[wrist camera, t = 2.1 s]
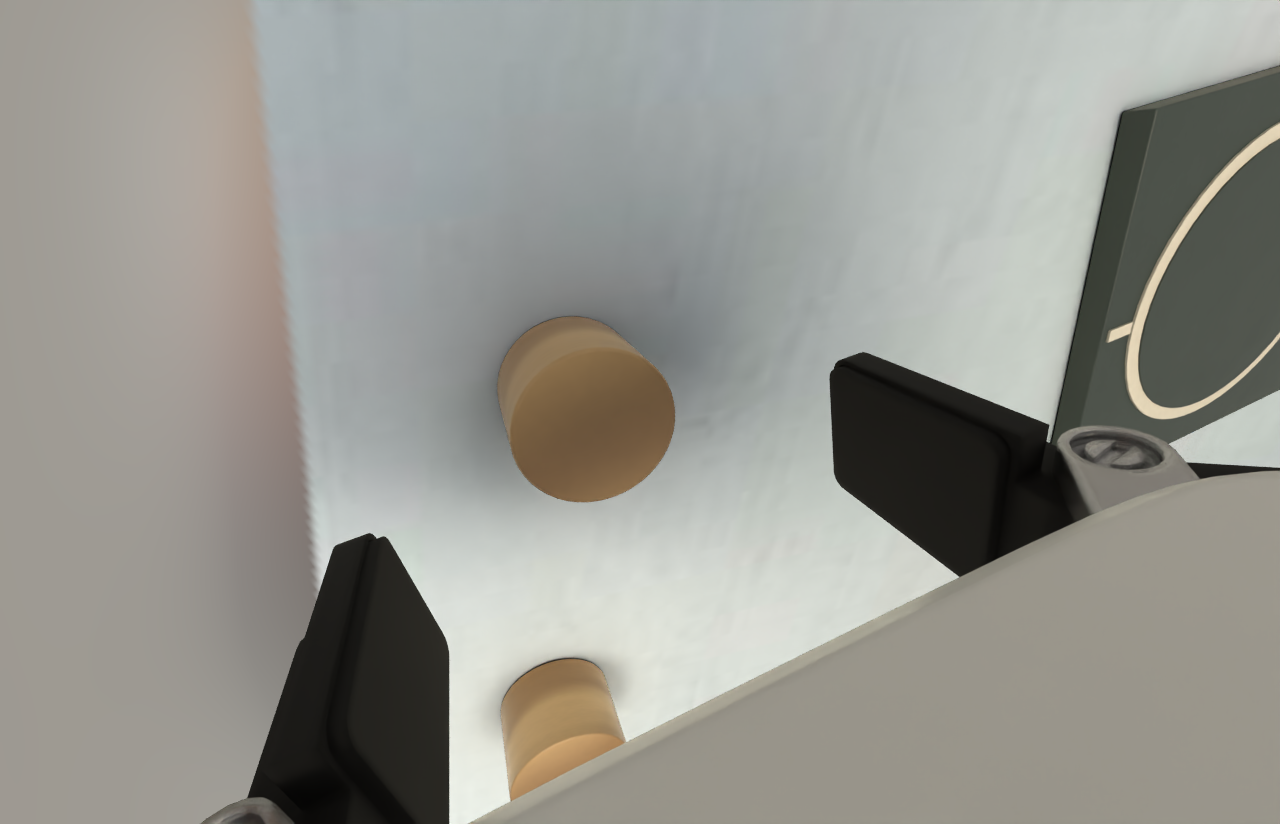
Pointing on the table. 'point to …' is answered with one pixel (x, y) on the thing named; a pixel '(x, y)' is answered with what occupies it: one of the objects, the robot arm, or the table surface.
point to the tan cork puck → (583, 410)
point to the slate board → (1183, 266)
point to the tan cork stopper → (556, 722)
